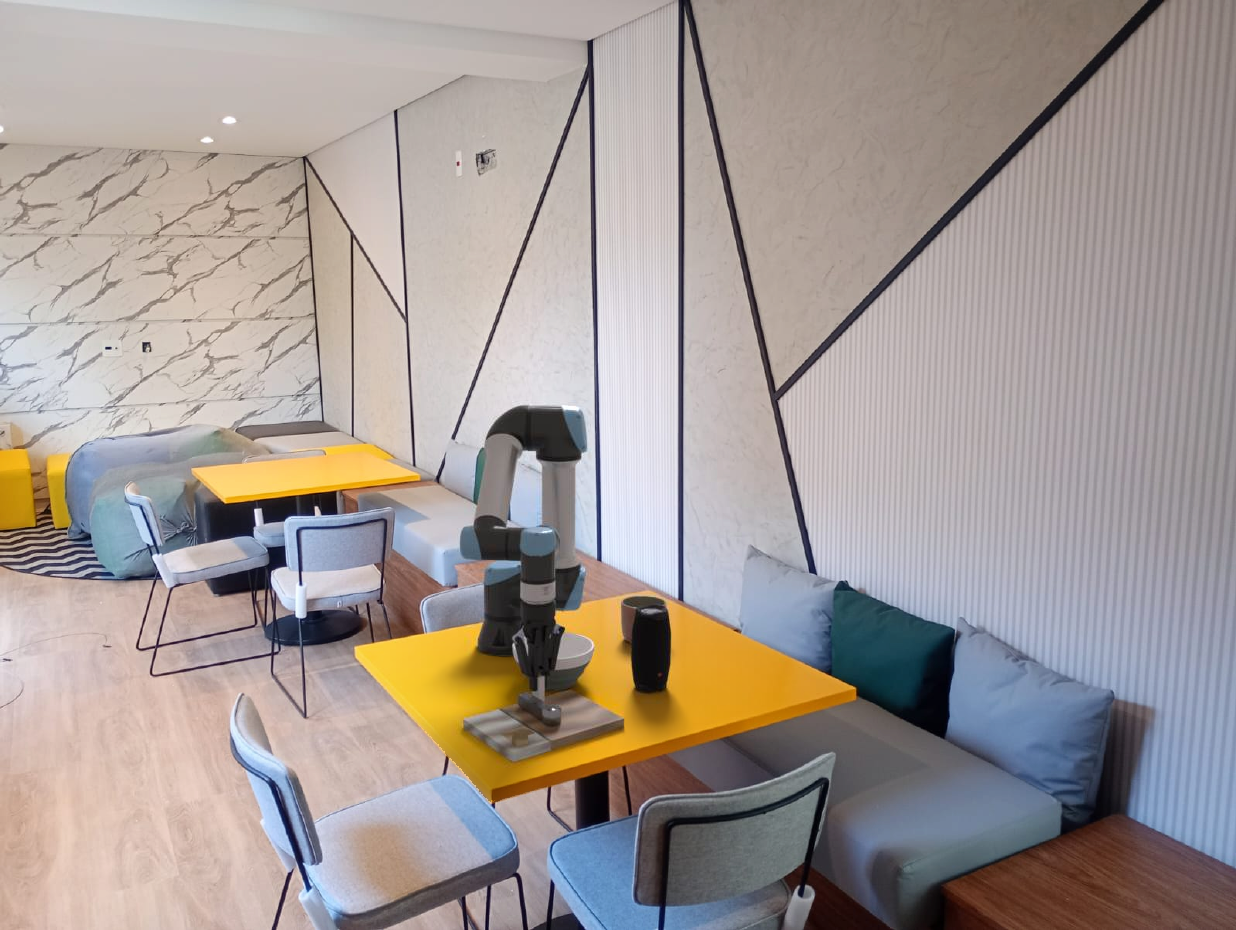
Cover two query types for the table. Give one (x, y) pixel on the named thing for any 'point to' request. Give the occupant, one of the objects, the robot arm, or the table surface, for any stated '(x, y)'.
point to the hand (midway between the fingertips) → (538, 703)
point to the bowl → (567, 661)
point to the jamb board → (542, 726)
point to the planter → (629, 611)
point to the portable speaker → (651, 648)
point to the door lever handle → (540, 709)
